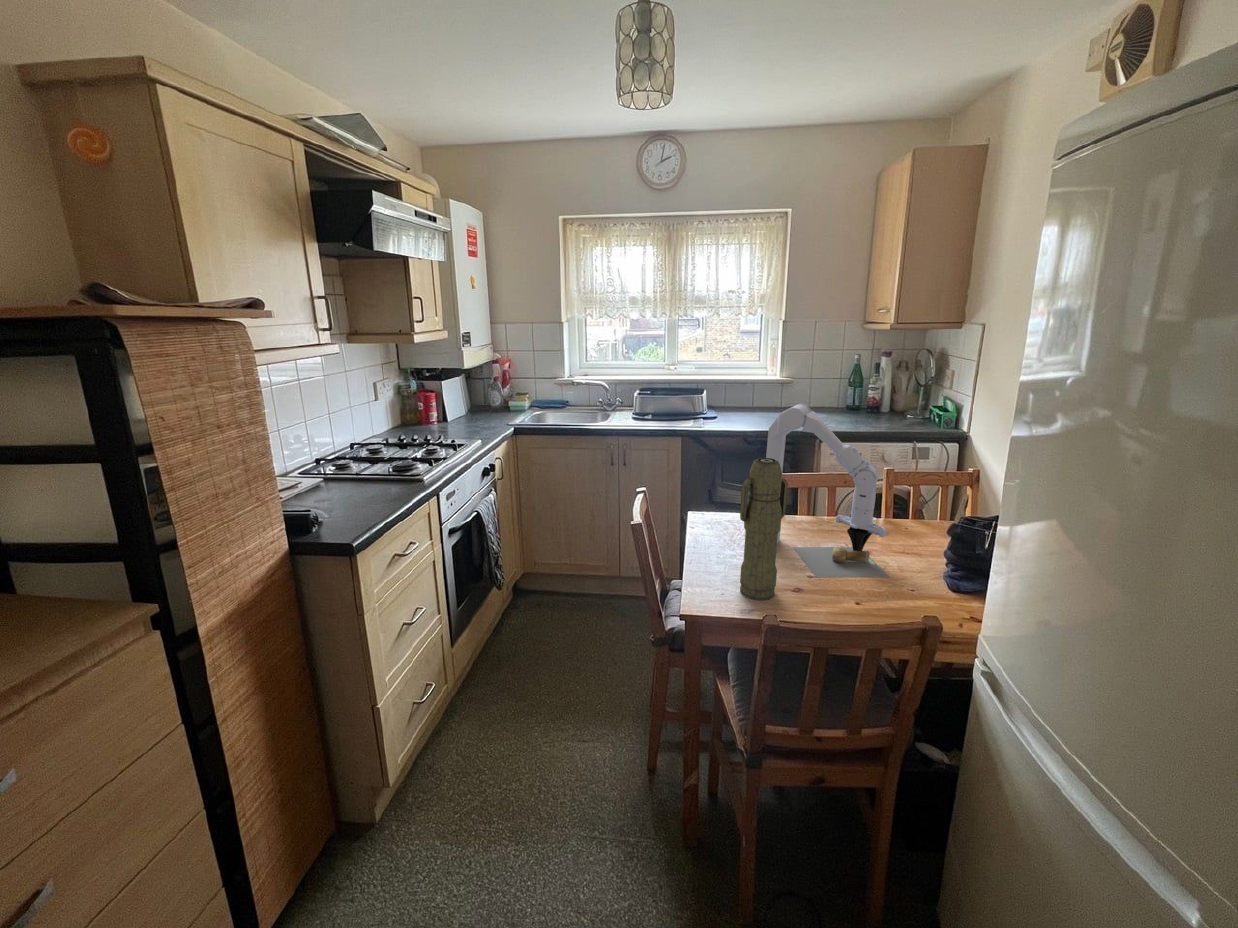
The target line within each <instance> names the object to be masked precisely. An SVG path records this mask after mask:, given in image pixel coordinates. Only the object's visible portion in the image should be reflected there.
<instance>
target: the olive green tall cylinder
mask: <svg viewBox="0 0 1238 928" xmlns="http://www.w3.org/2000/svg"><path fill="white" fill-rule="evenodd" d="M788 484H789V483H788V482H787V480H786V479H785V478H784V477H783V471H781V467H780V463H779V462H778V461H777V460H775V459H772V458H766V457H760V458H758V457H757V459H754V460H753V462H752V464H751V468H750V470H749V477H747V479H745V480H744V481H743V483H741V493H740V508H739V511H740V512H739V517H740V519H739V520H740V521H741V522H743V528H744V531H745V532H744V533H745V534H744V549H743V561H742V563H741V565H740V574H739V575H740V576H739V577H740V578H739V579H740V580H739V583H740V587H739V589H740V590H739V592H740V593H741V595H742V596H744V597H745V598H748V599H751V600H754V601H767V600H771V599H773V598H774V596H775V588H776V586H777V577H778V574H777V573H778V570H777V569H778V568H777V565H776V563H777V562H776V559H777V551H778V550H777V547H778V543H777V537H778V532H779V531H780V525H781V526H782V519H783V518H784V517H785V516H786V515H787V514H786V513H787V511H786V510H787V502H788V500H787V498H788V488H789V487H788V486H789V485H788ZM779 495H780V497H779ZM781 518H782V519H781ZM780 532H781V531H780Z"/></svg>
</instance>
